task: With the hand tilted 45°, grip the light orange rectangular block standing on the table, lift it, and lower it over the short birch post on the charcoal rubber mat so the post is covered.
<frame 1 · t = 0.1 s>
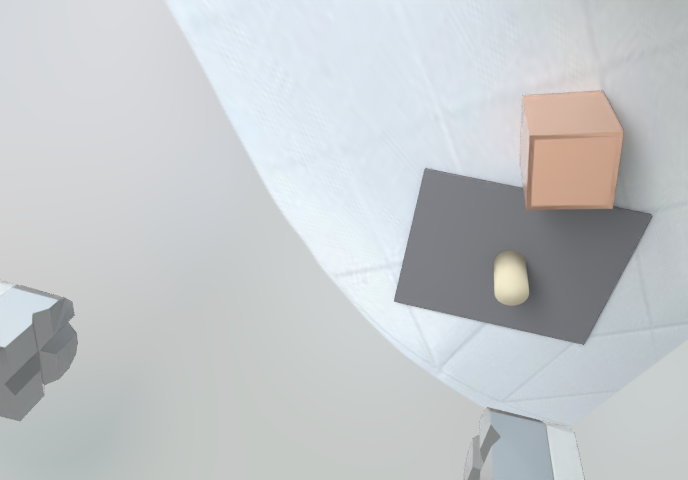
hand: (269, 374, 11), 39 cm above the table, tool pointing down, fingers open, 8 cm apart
mat: (509, 261, 54), on the table
light orange rectangular block: (559, 128, 46), on the table
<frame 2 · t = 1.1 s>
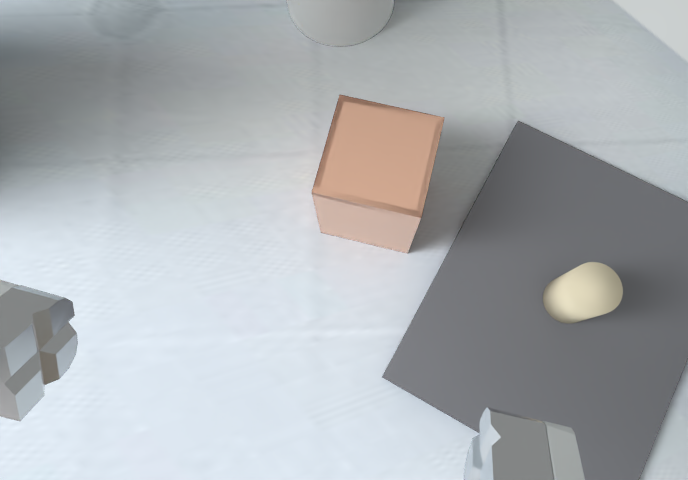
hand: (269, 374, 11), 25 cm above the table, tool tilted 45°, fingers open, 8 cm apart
mat: (564, 301, 36), on the table
white oval cylinder: (340, 1, 42), on the table
light orange rectangular block: (374, 201, 38), on the table
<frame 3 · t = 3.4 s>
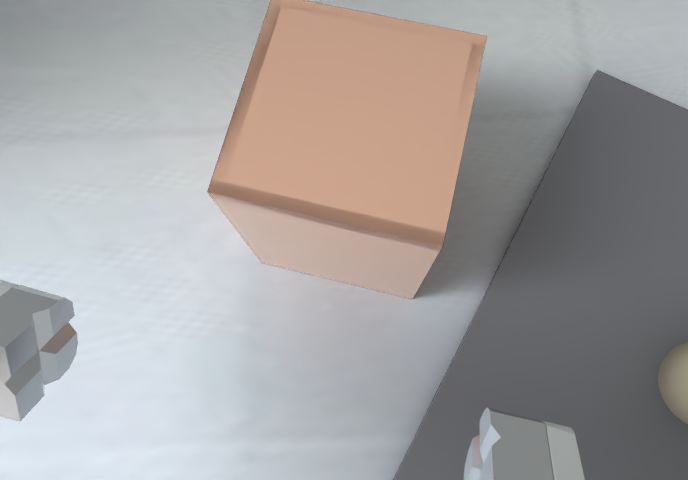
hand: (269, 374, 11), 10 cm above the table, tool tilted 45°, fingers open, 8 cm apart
light orange rectangular block: (354, 208, 22), on the table
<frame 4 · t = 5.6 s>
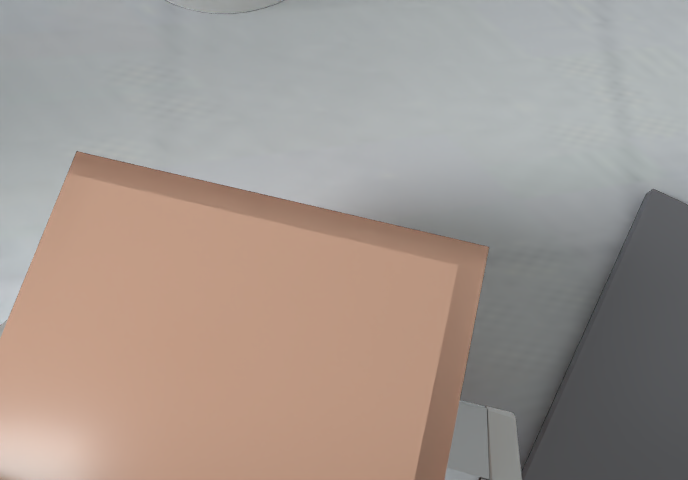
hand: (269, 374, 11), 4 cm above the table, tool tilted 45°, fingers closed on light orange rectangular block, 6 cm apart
light orange rectangular block: (289, 403, 15), on the table, touching gripper
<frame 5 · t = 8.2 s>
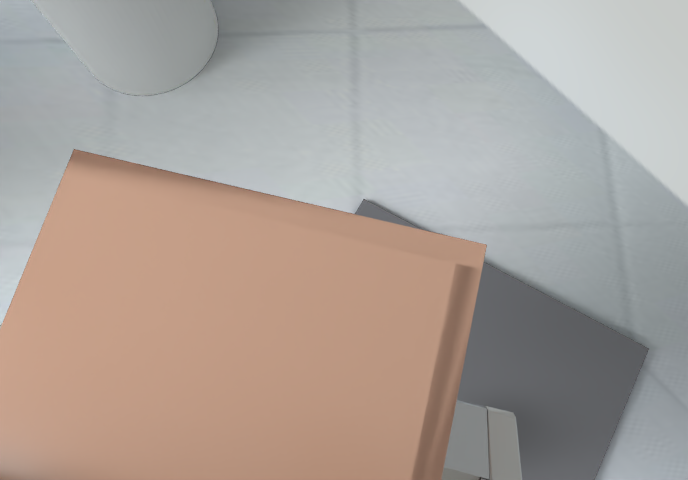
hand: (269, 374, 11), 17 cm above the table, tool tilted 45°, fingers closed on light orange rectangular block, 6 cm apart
mat: (409, 451, 27), on the table
white oval cylinder: (150, 35, 33), on the table
light orange rectangular block: (288, 402, 15), point 13 cm above the table, touching gripper
when the fingers open (6 cm above the table, at t = 11.0 s): light orange rectangular block drops 2 cm, resting on mat.
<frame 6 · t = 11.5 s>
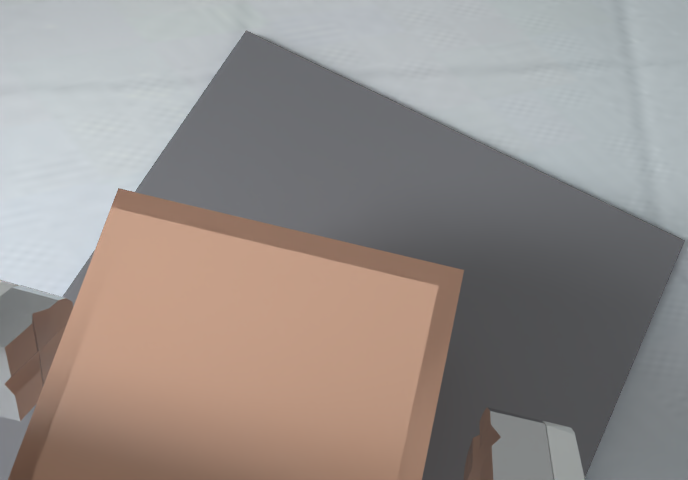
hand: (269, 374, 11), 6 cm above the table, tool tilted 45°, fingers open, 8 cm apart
mat: (298, 402, 17), on the table
light orange rectangular block: (294, 401, 16), resting on mat
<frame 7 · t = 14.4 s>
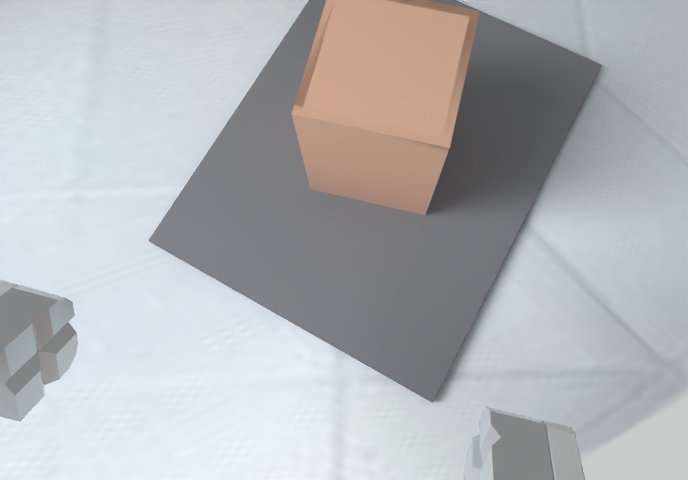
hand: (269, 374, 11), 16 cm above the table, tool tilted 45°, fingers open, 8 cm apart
mat: (382, 153, 29), on the table
light orange rectangular block: (380, 149, 29), resting on mat
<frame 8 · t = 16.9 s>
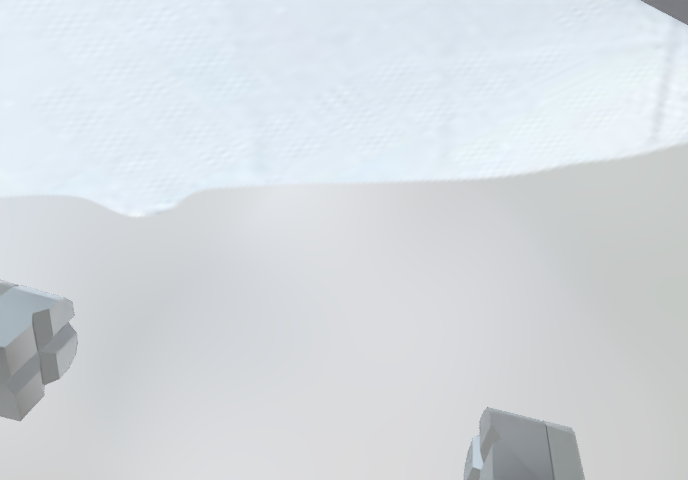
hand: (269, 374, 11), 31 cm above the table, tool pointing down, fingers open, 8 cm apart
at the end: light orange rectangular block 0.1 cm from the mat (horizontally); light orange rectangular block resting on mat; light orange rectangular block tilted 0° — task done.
